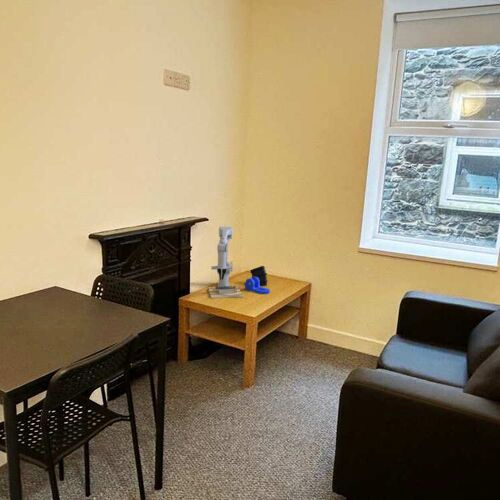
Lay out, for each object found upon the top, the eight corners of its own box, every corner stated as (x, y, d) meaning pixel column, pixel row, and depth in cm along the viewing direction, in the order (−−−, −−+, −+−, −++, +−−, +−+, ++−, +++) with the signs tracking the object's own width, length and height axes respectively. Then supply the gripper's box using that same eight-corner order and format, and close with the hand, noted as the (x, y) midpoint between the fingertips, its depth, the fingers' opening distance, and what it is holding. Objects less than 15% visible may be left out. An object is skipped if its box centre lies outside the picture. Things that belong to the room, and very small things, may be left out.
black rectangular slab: (269, 284, 333) (262, 266, 333) (254, 289, 339) (247, 271, 338) (271, 283, 336) (264, 265, 336) (256, 288, 342) (249, 270, 342)
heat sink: (217, 289, 318) (217, 285, 317) (231, 289, 320) (231, 285, 319) (219, 294, 308) (219, 290, 308) (233, 293, 310) (233, 289, 310)
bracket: (245, 289, 325) (245, 277, 323) (251, 287, 332) (252, 275, 330) (265, 295, 315) (266, 283, 313) (271, 292, 322) (272, 280, 320)
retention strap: (215, 288, 314) (215, 286, 314) (235, 288, 317) (235, 286, 317) (215, 289, 311) (215, 287, 310) (236, 289, 313) (236, 287, 313)
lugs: (212, 290, 316) (212, 285, 315) (235, 290, 319) (235, 285, 318) (213, 293, 310) (213, 288, 309) (236, 292, 313) (237, 288, 312)
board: (208, 289, 322) (208, 287, 322) (238, 288, 326) (238, 287, 326) (211, 298, 303) (211, 296, 303) (242, 297, 307) (243, 296, 307)
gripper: (212, 262, 304) (211, 281, 307) (233, 261, 306) (232, 280, 309) (211, 259, 310) (210, 278, 313) (231, 259, 313) (231, 277, 316)
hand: (221, 279), depth 312 cm, fingers closed
